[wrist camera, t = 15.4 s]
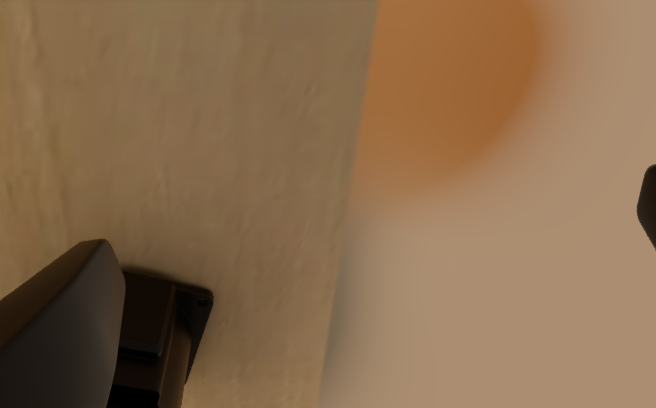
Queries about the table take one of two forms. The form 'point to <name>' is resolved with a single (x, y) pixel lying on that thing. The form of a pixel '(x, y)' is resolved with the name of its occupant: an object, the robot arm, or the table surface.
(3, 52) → the table surface
